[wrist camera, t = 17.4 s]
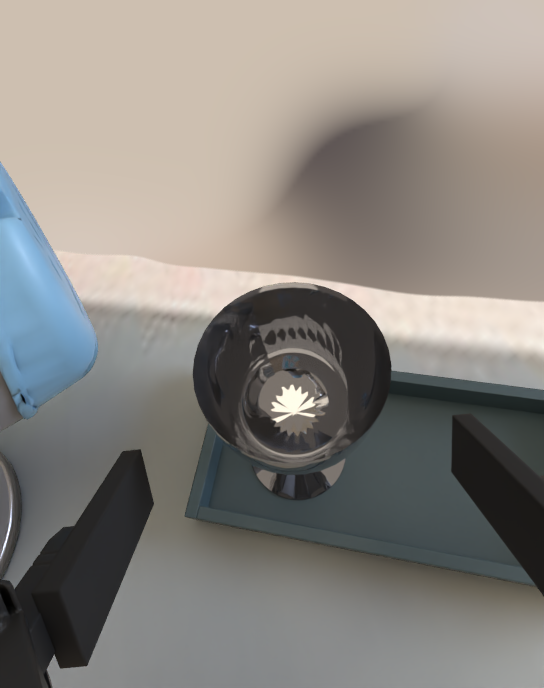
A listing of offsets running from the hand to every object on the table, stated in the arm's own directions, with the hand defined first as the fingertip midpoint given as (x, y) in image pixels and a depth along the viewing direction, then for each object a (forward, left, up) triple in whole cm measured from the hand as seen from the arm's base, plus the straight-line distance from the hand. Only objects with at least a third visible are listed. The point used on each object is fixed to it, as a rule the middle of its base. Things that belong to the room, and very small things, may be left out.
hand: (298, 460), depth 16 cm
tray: (+6, +3, -13) cm, 15 cm away
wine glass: (-1, +3, -12) cm, 13 cm away
